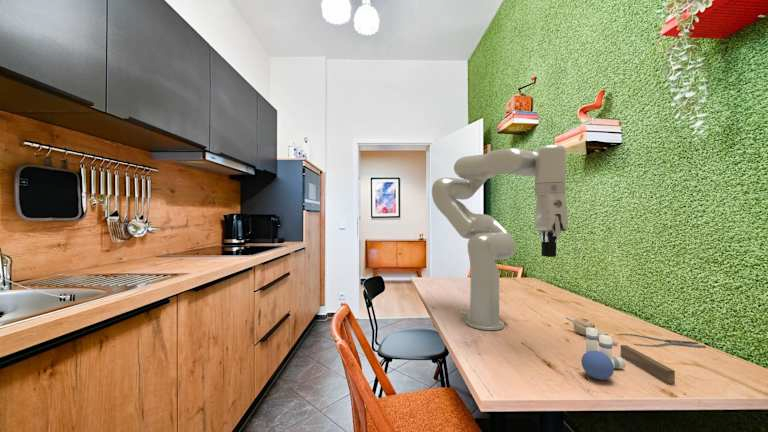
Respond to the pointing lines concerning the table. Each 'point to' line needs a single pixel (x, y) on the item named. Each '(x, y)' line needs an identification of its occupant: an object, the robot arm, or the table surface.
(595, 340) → the pin back left
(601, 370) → the ball
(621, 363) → the pin front
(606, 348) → the pin back right
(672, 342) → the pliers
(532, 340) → the table surface
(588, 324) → the toy
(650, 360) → the bar
